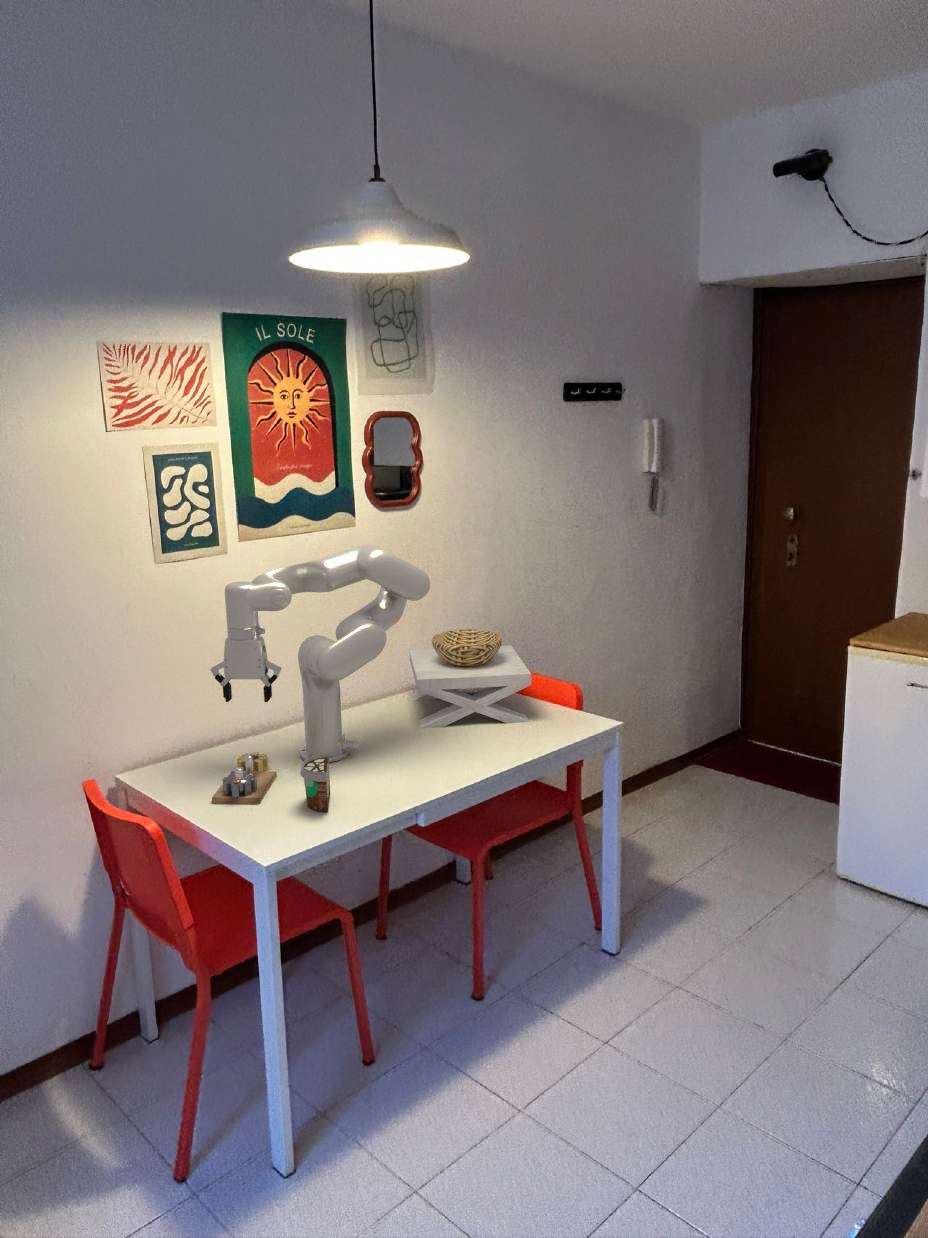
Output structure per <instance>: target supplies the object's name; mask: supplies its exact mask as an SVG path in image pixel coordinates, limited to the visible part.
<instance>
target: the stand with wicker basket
mask: <svg viewBox="0 0 928 1238" xmlns="http://www.w3.org/2000/svg"><path fill="white" fill-rule="evenodd" d="M431 644H432V645H431V646H432V647H433V649H413V650H412V649H410V650H409V651H408V652H409V663H410V667H411V670H412V674H413V678H414V681H415V685H416V689H417V691H416V692H414V693H412V698H413V701H427V700H428V701H429V700H436V699H438V700H442V701H445V702H447V703H450V704H451V705H449V706H447V707H445V708H443V709H440V710H439V711H436V712H435V713H432V714H430V715H428V716H426V717H424V718H422V719H420V720H418V725H419V727H420V729H431V728H432V729H434V728H444V727H446V726H448V725H450V724H452V723H455V722H457V721H458V720H461V719H463V718H465V717H467V716H469V715H471V714H473V713H478V714H481V715H483V716H486V717H489V718H491V719H494V720H497V721H500V722H502V723H505V724H517V723H518V724H519V723H522V724H523V723H530V720H529V718H528V717H527V715H526V714H525V713H522V712H519V711H516V710H513V709H512V708H511V709H510V708H507V707H505V706H502V705H499V704H497V703H496V702H498V701H501V700H502V699H504V698H507V697H509V696H514V694H515V693H517V692H519V691H522V690H523V689H525V688H528V687H530V686H532V673H531V671H530V670H529V669H528V667H527V666H526V664H525V663H524V661H523V660H522V659H521V658H520V657H521V656H519V654H518V653H517V652H516V649H514V647H513V646H512V645H502V644H503V638H502V635H500V634H499V633H497V632H493V631H489V630H485V629H469V628H468V629H453V630H447V631H442V632H440V633H437V634H435V635H434V636H432V638H431ZM459 689H461V690H462V689H473V690H475V691H478V692H475V693H474V694H470V693H466V692H464V691H461V690H459Z"/></svg>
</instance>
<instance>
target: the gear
mask: <svg viewBox="0 0 928 1238" xmlns="http://www.w3.org/2000/svg"><path fill="white" fill-rule="evenodd" d="M234 771H235V773H234V774H230V773H229V774H230V775H229V774H228V775H227V777H226V776H225V777H223V779H222V784H223V792H224V795H226V796H230V795H232V797H240V796H242V795H244V796H249V795H252V792H256V791H257V777H256V775H254V774H253V773H252V774H247V772H243V768H242V767H238V766H237V767H235V768H234ZM228 776H229V777H228Z"/></svg>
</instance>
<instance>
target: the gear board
mask: <svg viewBox="0 0 928 1238" xmlns="http://www.w3.org/2000/svg"><path fill="white" fill-rule="evenodd" d="M243 772H246V771H243ZM234 773H235V770H231V771H230V773H229V774H228V775H230V774H234ZM228 775H227V777H229V776H228ZM254 775H256V777H257V791H256V792H252V795H249V796H244V795H242V796H240V797H232V795H230V796H226V795H224V792H223V783H222V784H220V786H219V788H218V789H217V790H216V792H215V793H213V795H212V796H211V802H212V804H213V805H216V804H217V805H221V804H222V805H224V804H225V805H226V804H227V805H260V804H261V803H262V801H263V799H264V798H265V796H266V795H267V793H268V791H269V790H270V788H271V787H272V785H273V783H274V782H275V781H276V778H277V771H276V770H268V771H254Z"/></svg>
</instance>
